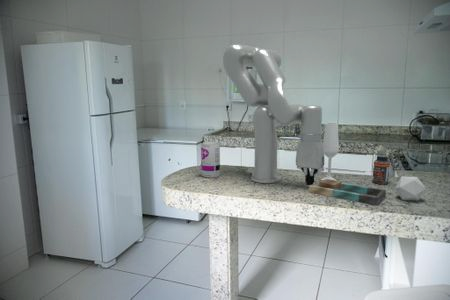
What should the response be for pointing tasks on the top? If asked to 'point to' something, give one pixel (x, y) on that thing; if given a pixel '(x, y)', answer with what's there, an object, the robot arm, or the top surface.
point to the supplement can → (210, 159)
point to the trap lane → (351, 196)
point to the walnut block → (330, 184)
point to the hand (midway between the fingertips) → (309, 184)
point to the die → (410, 188)
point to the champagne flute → (330, 145)
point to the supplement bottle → (381, 170)
